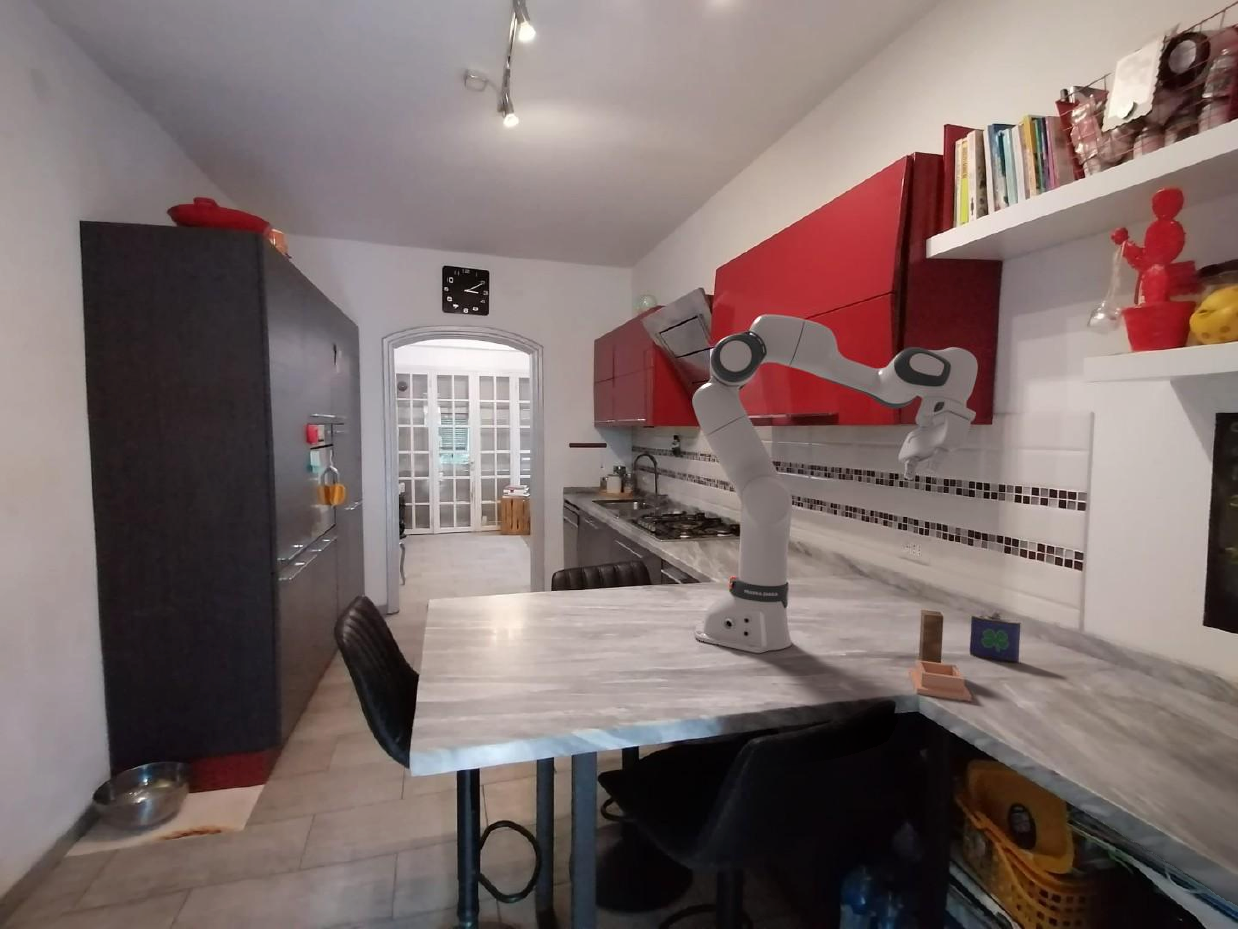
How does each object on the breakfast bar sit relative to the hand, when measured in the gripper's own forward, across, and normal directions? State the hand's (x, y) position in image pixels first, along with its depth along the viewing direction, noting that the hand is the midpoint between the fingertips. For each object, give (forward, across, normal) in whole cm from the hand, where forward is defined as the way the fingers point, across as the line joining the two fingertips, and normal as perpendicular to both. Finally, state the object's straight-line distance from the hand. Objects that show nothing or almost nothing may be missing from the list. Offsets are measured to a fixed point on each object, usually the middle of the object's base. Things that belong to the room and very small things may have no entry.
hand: (919, 474), depth 122 cm
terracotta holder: (+40, +4, +15) cm, 43 cm away
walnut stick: (+37, -4, +17) cm, 41 cm away
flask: (+29, -12, +33) cm, 45 cm away
